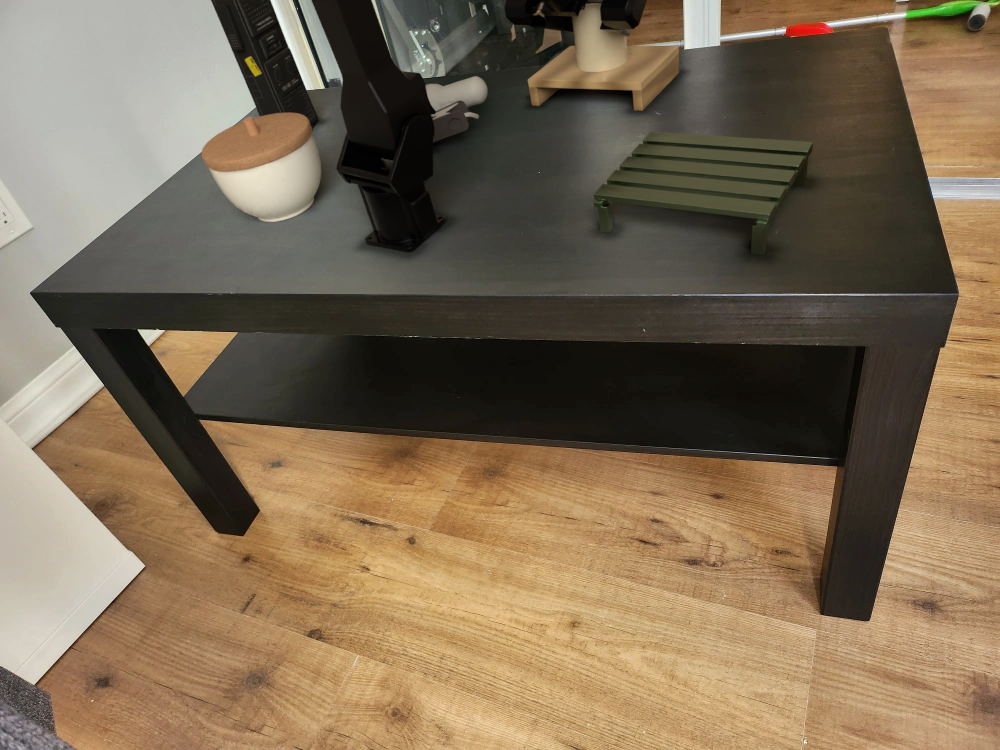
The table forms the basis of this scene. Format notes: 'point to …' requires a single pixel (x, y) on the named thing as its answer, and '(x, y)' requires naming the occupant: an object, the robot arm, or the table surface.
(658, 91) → the shelf
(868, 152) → the table surface
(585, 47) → the cup
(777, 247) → the table surface
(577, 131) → the table surface
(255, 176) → the lidded bowl
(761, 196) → the rack
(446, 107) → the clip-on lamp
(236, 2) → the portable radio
